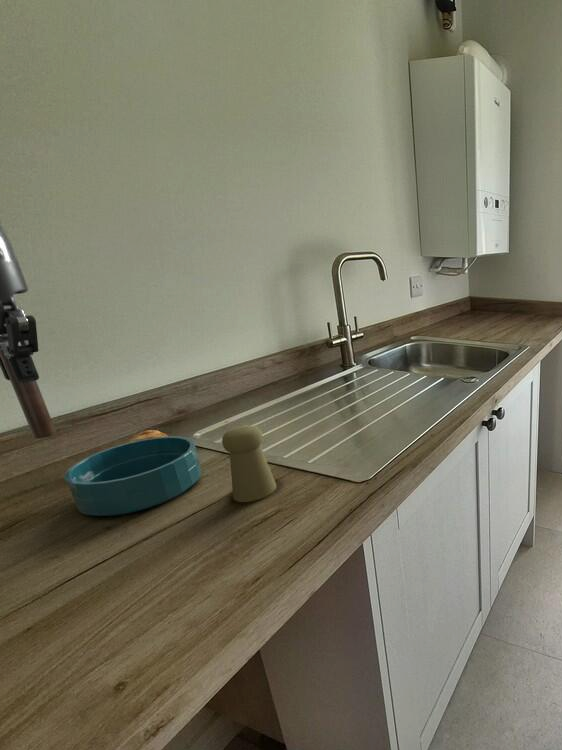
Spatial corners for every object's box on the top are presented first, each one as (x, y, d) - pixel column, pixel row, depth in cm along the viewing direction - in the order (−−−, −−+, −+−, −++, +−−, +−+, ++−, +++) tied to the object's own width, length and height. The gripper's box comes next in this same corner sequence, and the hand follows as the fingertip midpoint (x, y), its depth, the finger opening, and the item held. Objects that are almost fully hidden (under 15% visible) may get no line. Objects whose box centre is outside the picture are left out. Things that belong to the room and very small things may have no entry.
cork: (270, 476, 70) (257, 417, 66) (281, 491, 66) (268, 428, 62) (228, 491, 66) (212, 428, 62) (238, 507, 62) (221, 441, 58)
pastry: (173, 459, 76) (167, 441, 74) (124, 472, 71) (117, 453, 70) (171, 442, 82) (166, 425, 81) (127, 453, 78) (120, 435, 77)
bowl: (55, 507, 62) (41, 472, 60) (166, 460, 75) (157, 431, 73) (117, 530, 57) (103, 493, 55) (224, 475, 70) (215, 444, 68)
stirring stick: (30, 437, 63) (-7, 348, 59) (51, 430, 65) (17, 345, 61) (38, 439, 62) (2, 350, 58) (59, 433, 64) (26, 346, 60)
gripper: (-95, 259, 54) (-39, 382, 60) (-44, 260, 50) (11, 394, 55) (-11, 257, 61) (32, 369, 66) (41, 258, 56) (83, 378, 62)
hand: (23, 379), depth 61 cm, fingers closed on stirring stick, 2 cm apart
